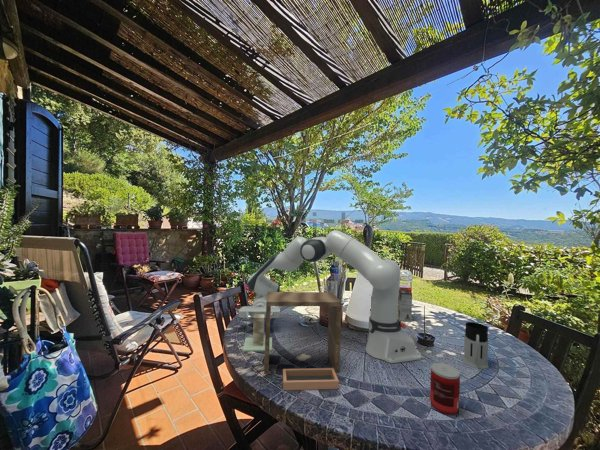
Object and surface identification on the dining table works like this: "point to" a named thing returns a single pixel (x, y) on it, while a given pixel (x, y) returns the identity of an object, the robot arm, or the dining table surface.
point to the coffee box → (405, 305)
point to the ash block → (258, 329)
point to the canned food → (445, 388)
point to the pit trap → (310, 379)
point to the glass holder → (476, 345)
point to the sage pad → (249, 346)
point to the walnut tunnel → (308, 300)
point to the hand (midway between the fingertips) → (259, 318)
